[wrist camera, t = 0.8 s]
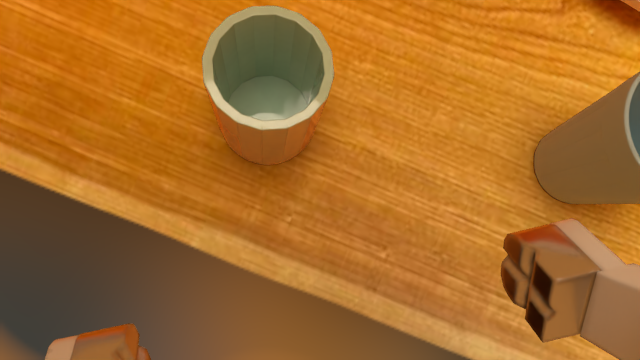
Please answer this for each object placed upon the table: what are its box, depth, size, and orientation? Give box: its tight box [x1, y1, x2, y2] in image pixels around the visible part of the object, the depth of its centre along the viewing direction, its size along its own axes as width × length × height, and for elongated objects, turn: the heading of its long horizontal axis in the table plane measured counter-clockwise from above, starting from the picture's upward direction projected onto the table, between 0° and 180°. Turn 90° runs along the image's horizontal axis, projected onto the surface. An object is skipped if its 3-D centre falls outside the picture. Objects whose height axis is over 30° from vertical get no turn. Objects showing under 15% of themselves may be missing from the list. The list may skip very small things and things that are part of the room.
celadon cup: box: [202, 6, 334, 165], centre depth 28 cm, size 6×6×9 cm
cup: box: [534, 72, 640, 204], centre depth 30 cm, size 8×8×10 cm
